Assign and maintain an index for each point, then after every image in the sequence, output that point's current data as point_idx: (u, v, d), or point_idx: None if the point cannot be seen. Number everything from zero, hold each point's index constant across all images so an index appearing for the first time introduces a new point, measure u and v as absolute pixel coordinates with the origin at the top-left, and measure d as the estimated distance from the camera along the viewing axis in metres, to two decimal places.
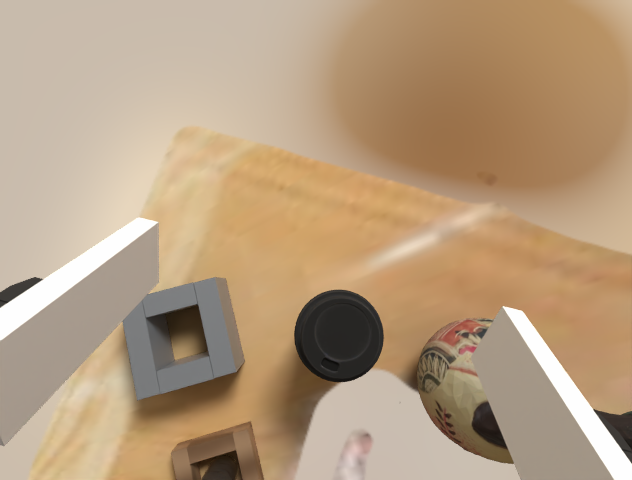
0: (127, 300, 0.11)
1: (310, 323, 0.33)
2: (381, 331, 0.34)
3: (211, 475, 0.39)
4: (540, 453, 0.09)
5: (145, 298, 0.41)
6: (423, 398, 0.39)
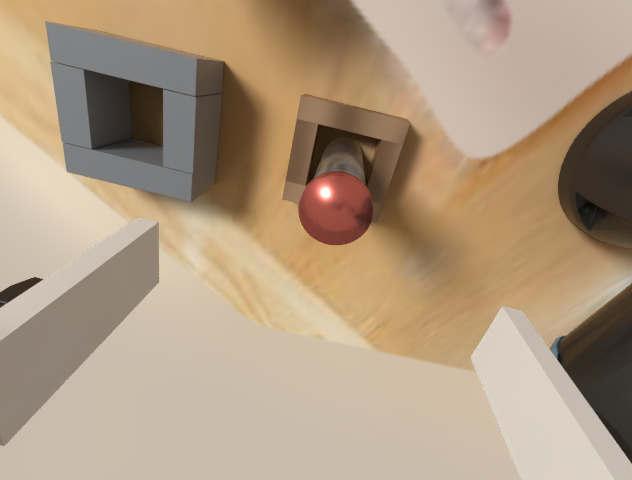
0: (127, 300, 0.11)
1: None
2: None
3: None
4: (540, 453, 0.09)
5: (66, 138, 0.29)
6: None
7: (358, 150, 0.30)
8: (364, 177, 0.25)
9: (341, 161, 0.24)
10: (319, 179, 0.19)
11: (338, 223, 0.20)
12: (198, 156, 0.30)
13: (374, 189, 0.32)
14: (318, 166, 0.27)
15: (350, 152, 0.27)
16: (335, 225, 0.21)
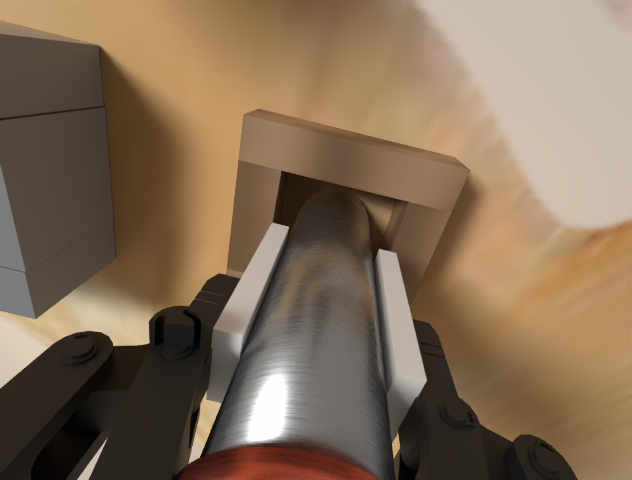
0: None
1: None
2: None
3: None
4: None
5: None
6: None
7: (362, 221, 0.15)
8: None
9: (318, 306, 0.09)
10: None
11: None
12: (40, 235, 0.15)
13: None
14: (271, 281, 0.11)
15: (345, 245, 0.12)
16: None
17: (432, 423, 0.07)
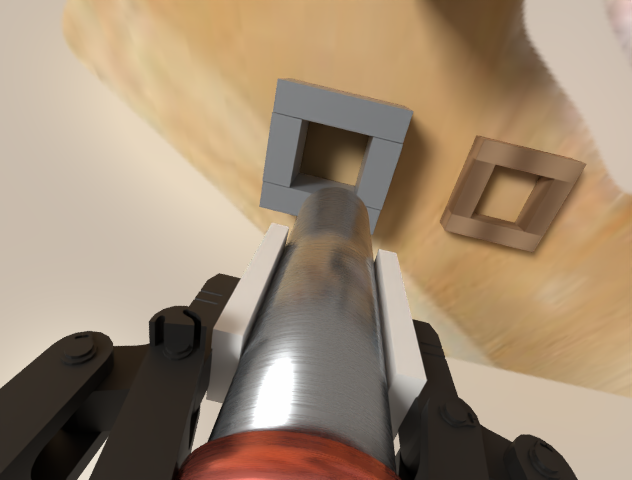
0: None
1: None
2: None
3: None
4: None
5: (267, 177, 0.32)
6: None
7: (362, 219, 0.16)
8: (379, 319, 0.10)
9: (320, 300, 0.09)
10: None
11: None
12: None
13: (537, 222, 0.34)
14: (273, 277, 0.12)
15: (346, 242, 0.12)
16: None
17: (432, 423, 0.07)
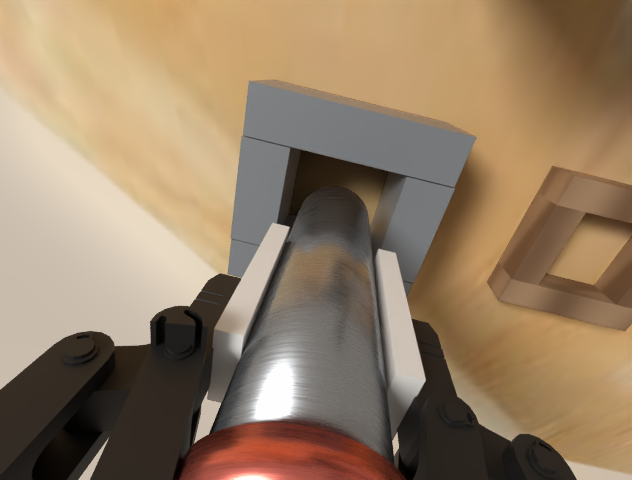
0: None
1: None
2: None
3: None
4: None
5: (237, 234, 0.21)
6: None
7: (362, 217, 0.16)
8: (378, 316, 0.10)
9: (320, 297, 0.09)
10: None
11: None
12: None
13: None
14: (273, 275, 0.12)
15: (345, 240, 0.12)
16: None
17: (431, 423, 0.07)
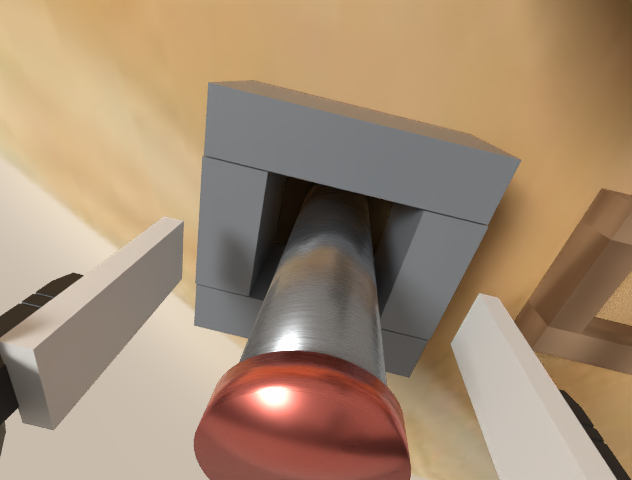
0: (156, 295, 0.11)
1: None
2: None
3: None
4: (507, 428, 0.09)
5: (204, 278, 0.16)
6: None
7: (362, 206, 0.17)
8: (376, 287, 0.12)
9: (325, 267, 0.10)
10: (245, 395, 0.06)
11: None
12: None
13: None
14: (283, 253, 0.13)
15: (347, 223, 0.14)
16: None
17: None
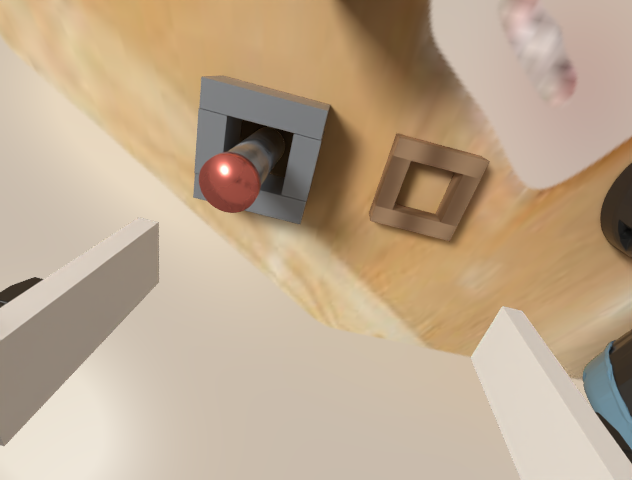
0: (127, 300, 0.11)
1: None
2: None
3: None
4: (540, 453, 0.09)
5: (198, 170, 0.34)
6: None
7: (276, 138, 0.35)
8: (268, 159, 0.30)
9: (245, 145, 0.29)
10: (212, 157, 0.24)
11: (232, 194, 0.25)
12: (310, 186, 0.35)
13: (451, 214, 0.38)
14: None
15: (261, 139, 0.32)
16: (229, 196, 0.26)
17: None
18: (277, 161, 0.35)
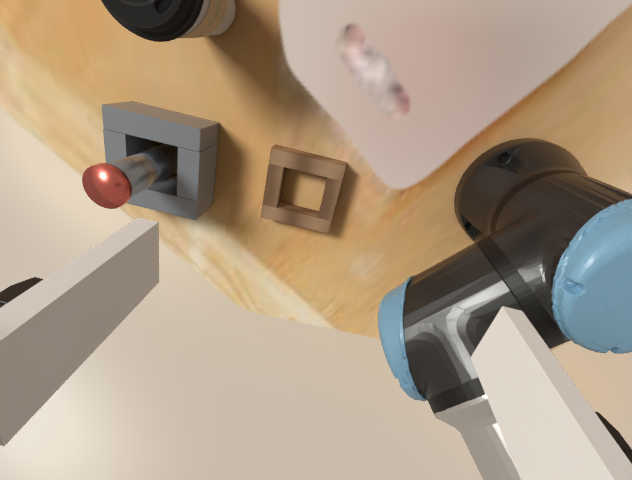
0: (127, 300, 0.11)
1: (109, 1, 0.26)
2: None
3: None
4: (540, 453, 0.09)
5: None
6: None
7: (173, 150, 0.44)
8: (152, 168, 0.38)
9: (129, 157, 0.37)
10: (89, 167, 0.33)
11: (108, 194, 0.34)
12: (201, 189, 0.43)
13: (325, 210, 0.46)
14: None
15: (153, 152, 0.40)
16: (107, 196, 0.34)
17: None
18: (174, 169, 0.44)
